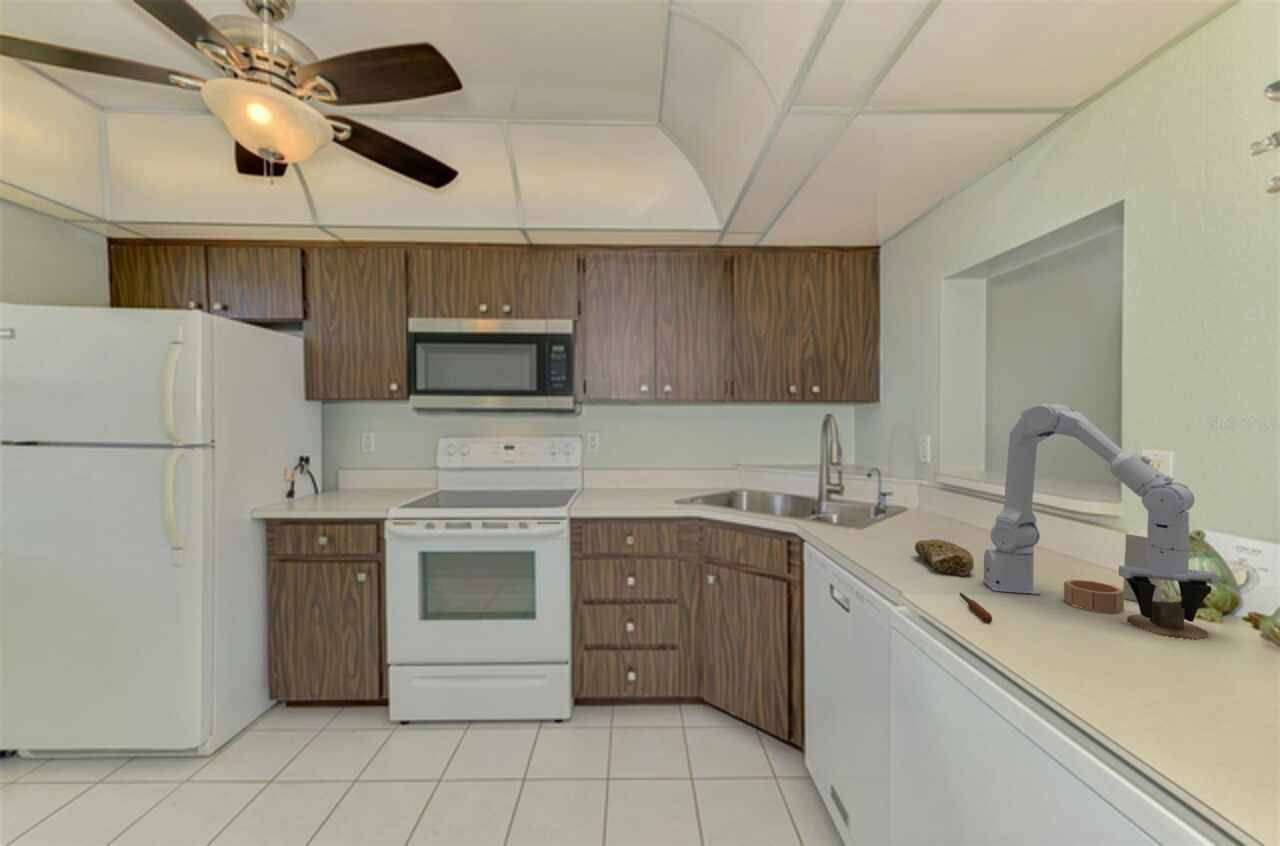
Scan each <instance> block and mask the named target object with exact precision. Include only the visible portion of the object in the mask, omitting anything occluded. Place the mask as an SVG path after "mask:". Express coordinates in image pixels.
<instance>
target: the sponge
mask: <svg viewBox="0 0 1280 846" xmlns="http://www.w3.org/2000/svg"><path fill="white" fill-rule="evenodd" d="M914 550H915V553H916V554H917V555H918V556H919V557H920V558H922V559H924V561H926V562H929V563H930V564H931V566H932V567H934V569H935V570H937V571H938V572H941V573H944V574H950V575H956V576H958V575H959V577H965V576H967V575H969V574H971V572H972V571H973V570H974V557H973V555H972V554H971V553H970V552H969V550H968V549H965V548H963V547H961V546H959V545H957V544H956V543H953V542H950V541H947V540H941V539H936V538H935V539H929V540H928V539H925V540H924V539H922V540H918V541H917V542H916V543H915V544H914Z"/></svg>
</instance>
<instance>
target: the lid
mask: <svg viewBox="0 0 1280 846" xmlns="http://www.w3.org/2000/svg"><path fill="white" fill-rule="evenodd" d="M1126 622H1127V623H1128V624H1129V623H1130V624H1131V625H1130V624H1129V625H1130V626H1132V625H1133V626H1132V627H1134V626H1135V627H1134V628H1136V627H1137V628H1136V629H1138V628H1139V630H1141V629H1142V630H1141V631H1144V630H1145V631H1144V632H1147V631H1148V632H1147V633H1150V632H1151V634H1154V635H1157V634H1158V636H1162V637H1166V636H1168V637H1167V638H1171V637H1174V638H1173V639H1178V638H1183V639H1182V640H1186V639H1190V640H1189V641H1200V640H1199V639H1204V640H1206V639H1205V638H1207V639H1209V637H1210V634H1209V632H1208V631H1207V630H1206V629H1204V628H1203V627H1199V626H1198V625H1194V624H1192V623H1189V622H1185V619H1184V608H1182V607H1181V605H1178V604H1177V603H1173V602H1167V601H1161V602H1159V601H1152V617H1151V618H1147V617H1145V616H1143V615H1141V614H1132V615H1128V616H1127V618H1126ZM1208 636H1209V637H1208ZM1192 639H1193V640H1192ZM1197 639H1198V640H1197Z"/></svg>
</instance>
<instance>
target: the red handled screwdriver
mask: <svg viewBox="0 0 1280 846" xmlns="http://www.w3.org/2000/svg"><path fill="white" fill-rule="evenodd" d="M958 595H959V597H961V599H962V600H964V602H966V604H967V606H968V609H969V608H970V609H969V610H971V611H972V612H973V613H974V614H975V615H976V614H977V615H978V616H979V617H980V618H981V619H982V620H983V621H984V623H986V622H987V623H992V622H993V617H992V614H991V613H990V612H988V611H987V610H986V609H985V608H984V607H983V606H982V605H980V604H979V603H978V602H977V601H976V600H974V599H971V598H969V597H968V596H966V595H965V594H964V593H963V592H959V593H958ZM978 616H977V617H978ZM979 617H978V618H979ZM980 618H979V619H980ZM981 619H980V620H981ZM982 620H981V621H982ZM983 621H982V622H983Z"/></svg>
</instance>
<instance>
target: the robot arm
mask: <svg viewBox="0 0 1280 846" xmlns="http://www.w3.org/2000/svg"><path fill="white" fill-rule="evenodd" d="M1020 414H1021V415H1020V418H1019V420H1018V421H1017V423H1015V425H1014V426H1013V428H1012V430H1011V431H1010V433H1009V438H1008V451H1007V461H1006V462H1007V464H1006V473H1005V486H1004V487H1005V490H1004V500H1003V501H1004V502H1003V508H1002V510H1001V511H1000V512H999V513H998V515H997V516H996V517H995V523H994V526H993V527H992V529H991V530H990V539H991V541H992V544H993V545H994V546H995V548H993V549H992V548H991V549H990V548H989V549H986V550H985V551H984V554H983V579H982V582H983V583H984V584H985V585H986V586H987V587H988V588H990V589H991V590H992V591H993V590H994V592H1002V591H1003V592H1005V593H1006V592H1007V593H1014V592H1015V593H1018V594H1027V593H1028V595H1042V594H1041V591H1039V590H1038V589H1037V588H1035V587H1034V564H1035V563H1034V557H1035V552H1034V546H1036V545H1037V544H1038V543H1039V542H1040V541H1039V540H1040V538H1041V536H1040V531H1039V529H1038V526H1037V517H1036V515H1035V514H1034V513H1033V511H1032V510H1033V500H1034V499H1033V497H1034V488H1035V475H1036V461H1037V451H1038V450H1037V449H1038V444H1039V443H1042V442H1043V441H1044V440H1046V439H1047V438H1049V437H1051V436H1052V435H1056V434H1057V435H1064V436H1067V437H1072V438H1073V437H1074V438H1075V439H1076V440H1078V441H1080V442H1081V443H1082V444H1083V445H1084V446H1086V447H1087V448H1089V450H1091V451H1092V452H1094V453H1095V454H1097V455H1098V456H1100V457H1101V458H1102V459H1104V460H1105V461H1106V462H1107V463H1109V472H1110V473H1111V474H1112V475H1113V476H1114V477H1115V478H1116V479H1118V480H1119V482H1121V483H1122V484H1123V485H1125V486H1126V487H1127V488H1128V489H1129V490H1131V491H1132V492H1133V493H1134V494H1135V495H1137V496H1138V497H1140V498H1141V503H1142V505H1143V507H1144V508H1145V510H1147V530H1148V531H1147V566H1124V565H1118V576H1120V577H1121V578H1123V579H1124V578H1126V580H1127V582H1128V583H1129V585H1130V587H1131V588H1132V590H1133V592H1134V594H1135V596H1136V599H1137V601H1136V602H1137V605H1138V608H1139V611H1140V615H1143V616H1145V617H1147V618H1151V617H1152V600H1153V594H1154V591H1155V588H1156V586H1155V585H1154V584H1152V583H1151V581H1149V579H1158V580H1165V581H1171V582H1172V581H1173V582H1175V581H1176V582H1177V583H1178V587H1179V592H1180V607H1182V608H1184V621H1187V622H1190V623H1191V622H1194V621H1195V618H1196V615H1197V612H1198V611H1199V608H1200V606H1201V605H1202V603H1203V602H1204V601H1205V599H1206V598H1207V597H1208V596H1209V595H1210V594H1211V592H1212V585H1219V582H1220V581H1219V576H1220V575H1219V574H1218V573H1215V572H1213V571H1206V570H1205V571H1204V570H1197V569H1189V566H1190V565H1189V562H1190V561H1189V554H1190V524H1189V522H1190V521H1189V519H1190V512H1189V510H1191V508H1192V507H1193V506H1194V504H1195V496H1194V493H1193V492H1192V491H1191V490H1190V488H1188V486H1187V485H1185V484H1183V483H1181V482H1174V480H1175V478H1173V477H1172V476H1171V475H1165V474H1164V473H1163V472H1162V471H1160V470H1159V469H1157V468H1156V467H1155V466H1154V465H1152V464H1151V461H1152V459H1151V458H1149V457H1148V456H1147V455H1146V456H1145V455H1142V456H1141V455H1140V454H1138V453H1134V452H1133V453H1132V452H1130V453H1129V452H1125V451H1124V450H1123V449H1122V448H1121V447H1119V445H1117V444H1116V443H1115V442H1113V441H1112V439H1111V438H1109V437H1108V436H1107V435H1106V434H1105V433H1104V432H1102V431H1101V430H1100V429H1099V428H1098V427H1096V425H1094V423H1092V422H1091V421H1090V420H1088V418H1087V417H1086V416H1085V415H1084V414H1082V413H1081V412H1079V411H1076V410H1075V409H1074V408H1073V407H1072V405H1071V406H1070V405H1069V404H1066V403H1044V402H1041V403H1040V402H1039V403H1035V404H1032V405H1031V406H1029V407H1027V408H1026V409H1024V410H1022V411H1021V413H1020ZM1208 584H1209V585H1208ZM1210 585H1211V586H1210ZM1029 593H1030V594H1029Z"/></svg>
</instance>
